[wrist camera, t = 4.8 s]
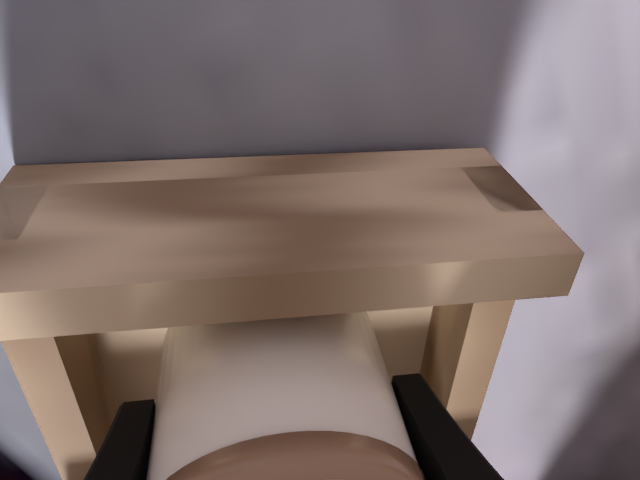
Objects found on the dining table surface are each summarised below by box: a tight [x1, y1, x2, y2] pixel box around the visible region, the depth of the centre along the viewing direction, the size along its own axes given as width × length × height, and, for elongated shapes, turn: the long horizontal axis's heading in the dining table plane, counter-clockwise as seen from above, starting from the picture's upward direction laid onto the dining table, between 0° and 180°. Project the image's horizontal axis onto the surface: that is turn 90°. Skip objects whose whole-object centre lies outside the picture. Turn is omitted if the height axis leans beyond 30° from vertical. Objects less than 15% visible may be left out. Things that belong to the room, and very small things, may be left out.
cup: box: [146, 312, 426, 480], centre depth 11 cm, size 5×5×6 cm
